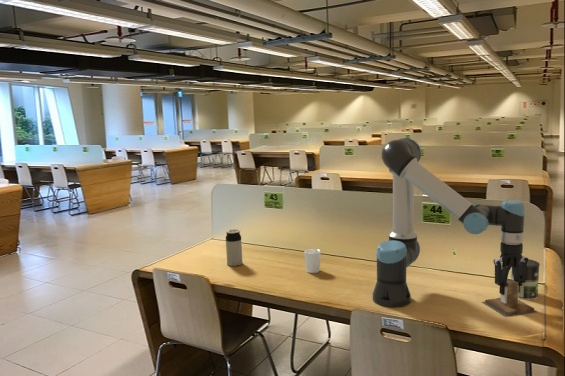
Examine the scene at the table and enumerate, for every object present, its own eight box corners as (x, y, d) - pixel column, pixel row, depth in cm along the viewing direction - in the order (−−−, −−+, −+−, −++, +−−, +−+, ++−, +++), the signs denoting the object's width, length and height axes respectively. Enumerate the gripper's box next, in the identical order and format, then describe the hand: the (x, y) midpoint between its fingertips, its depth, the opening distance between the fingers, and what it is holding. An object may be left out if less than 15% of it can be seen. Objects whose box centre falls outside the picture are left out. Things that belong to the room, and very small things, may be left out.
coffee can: (538, 293, 190) (540, 260, 188) (537, 302, 181) (538, 267, 179) (510, 289, 195) (512, 257, 193) (507, 297, 187) (509, 264, 185)
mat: (505, 317, 169) (505, 316, 169) (481, 303, 183) (481, 302, 183) (538, 313, 172) (538, 312, 172) (512, 298, 185) (512, 298, 185)
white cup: (302, 272, 225) (302, 253, 224) (307, 267, 232) (307, 248, 231) (318, 274, 222) (317, 254, 221) (323, 269, 229) (322, 249, 228)
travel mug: (245, 262, 244) (243, 229, 241) (236, 267, 237) (234, 233, 234) (233, 260, 248) (231, 228, 245) (224, 265, 241) (222, 231, 239)
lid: (505, 315, 170) (506, 288, 169) (485, 302, 182) (485, 277, 180) (534, 311, 172) (535, 285, 171) (512, 299, 184) (513, 274, 183)
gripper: (498, 246, 168) (495, 308, 171) (538, 242, 171) (535, 302, 175) (485, 241, 175) (483, 300, 179) (524, 237, 178) (521, 295, 182)
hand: (509, 301), depth 177 cm, fingers closed on lid, 4 cm apart
